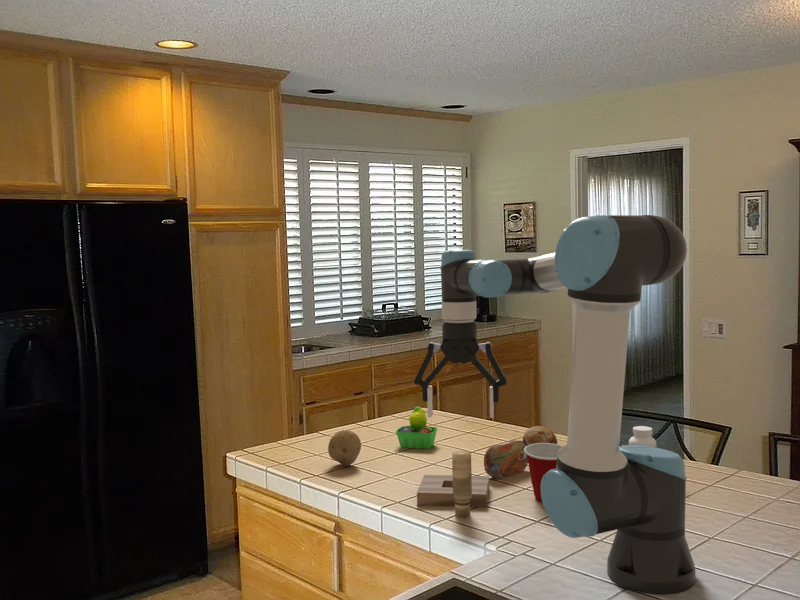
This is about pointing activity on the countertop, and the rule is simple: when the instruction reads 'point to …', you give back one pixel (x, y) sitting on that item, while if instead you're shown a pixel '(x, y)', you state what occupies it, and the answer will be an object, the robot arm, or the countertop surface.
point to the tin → (505, 459)
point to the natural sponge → (344, 447)
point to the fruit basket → (417, 431)
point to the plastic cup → (541, 463)
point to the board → (450, 491)
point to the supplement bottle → (642, 437)
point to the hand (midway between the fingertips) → (460, 416)
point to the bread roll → (539, 435)
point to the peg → (462, 482)
